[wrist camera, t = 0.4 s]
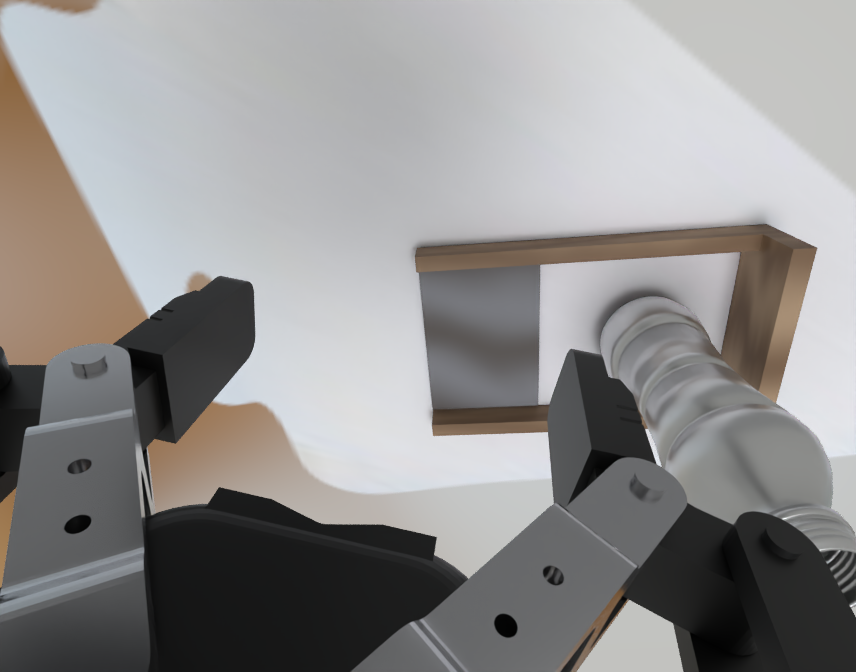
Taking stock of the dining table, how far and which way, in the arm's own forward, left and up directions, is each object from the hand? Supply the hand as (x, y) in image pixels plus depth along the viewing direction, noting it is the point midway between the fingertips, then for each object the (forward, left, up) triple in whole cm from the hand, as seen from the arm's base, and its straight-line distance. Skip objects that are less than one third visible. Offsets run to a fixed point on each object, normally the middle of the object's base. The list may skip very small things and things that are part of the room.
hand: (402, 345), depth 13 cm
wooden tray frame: (+11, +9, -21) cm, 26 cm away
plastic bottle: (+11, +13, -22) cm, 28 cm away
